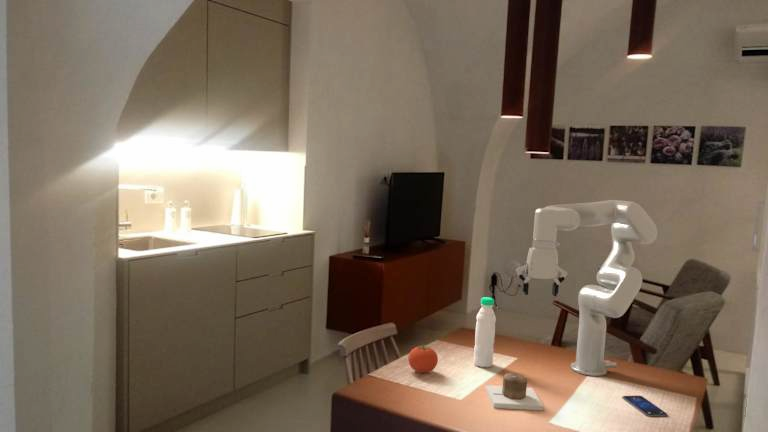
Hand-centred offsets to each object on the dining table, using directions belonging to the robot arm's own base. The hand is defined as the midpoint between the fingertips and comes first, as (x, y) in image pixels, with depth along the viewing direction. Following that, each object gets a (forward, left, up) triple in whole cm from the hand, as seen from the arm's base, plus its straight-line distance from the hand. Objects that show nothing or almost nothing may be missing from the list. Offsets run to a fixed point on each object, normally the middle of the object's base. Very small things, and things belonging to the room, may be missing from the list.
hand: (539, 294), depth 200 cm
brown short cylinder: (+11, +17, -29) cm, 35 cm away
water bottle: (+15, -14, -31) cm, 37 cm away
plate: (+11, +17, -30) cm, 36 cm away
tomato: (+38, -3, -31) cm, 49 cm away
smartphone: (-31, +17, -31) cm, 47 cm away
